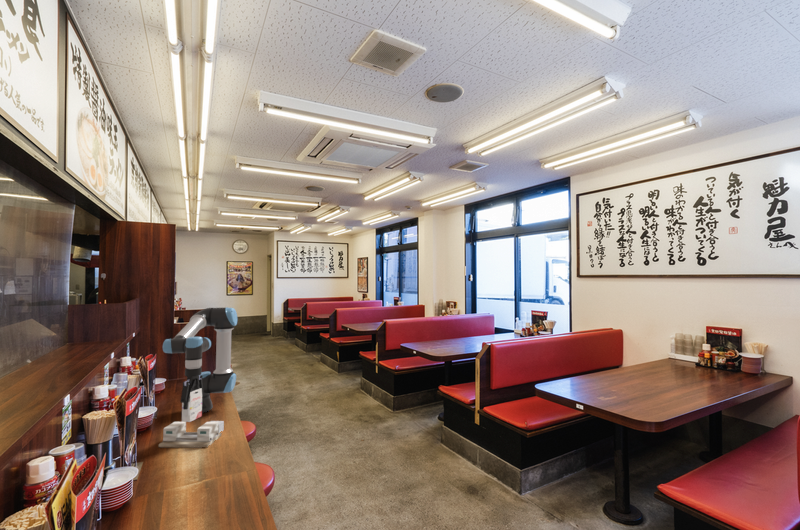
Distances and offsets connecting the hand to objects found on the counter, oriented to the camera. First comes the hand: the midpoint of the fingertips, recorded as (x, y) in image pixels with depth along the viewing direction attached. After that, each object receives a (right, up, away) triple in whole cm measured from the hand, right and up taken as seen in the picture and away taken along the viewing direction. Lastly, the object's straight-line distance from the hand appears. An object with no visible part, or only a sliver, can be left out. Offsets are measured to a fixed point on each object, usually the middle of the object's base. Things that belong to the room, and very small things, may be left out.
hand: (191, 412), depth 187 cm
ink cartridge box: (0, -4, 0) cm, 4 cm away
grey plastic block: (+6, -15, +11) cm, 20 cm away
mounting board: (0, -15, -1) cm, 15 cm away
